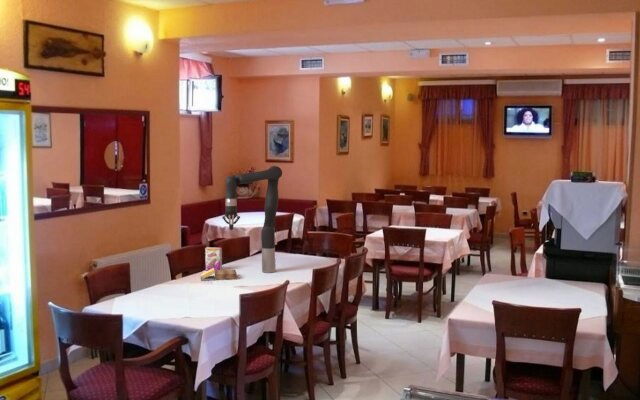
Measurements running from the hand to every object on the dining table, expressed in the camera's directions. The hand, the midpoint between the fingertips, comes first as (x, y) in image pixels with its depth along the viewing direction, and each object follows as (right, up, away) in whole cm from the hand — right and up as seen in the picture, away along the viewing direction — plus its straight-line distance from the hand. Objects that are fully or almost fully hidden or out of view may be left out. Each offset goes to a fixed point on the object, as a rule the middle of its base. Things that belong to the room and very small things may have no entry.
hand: (231, 229), depth 435 cm
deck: (-2, -32, -10) cm, 34 cm away
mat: (-14, -32, -12) cm, 37 cm away
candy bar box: (-15, -30, +14) cm, 36 cm away
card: (-13, -30, -11) cm, 35 cm away
